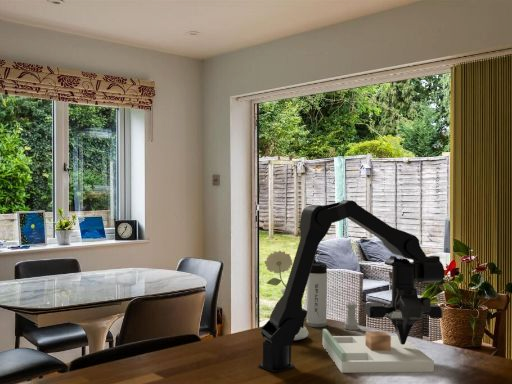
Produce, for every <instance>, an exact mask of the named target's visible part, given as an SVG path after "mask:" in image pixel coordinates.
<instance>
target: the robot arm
mask: <svg viewBox="0 0 512 384" xmlns="http://www.w3.org/2000/svg"><path fill="white" fill-rule="evenodd" d="M344 219H348V220H350V221H351V222H353V223H355V224H356V225H358V226H359V227H360V228H362V229H364V230H365V231H367V232H368V233H370V234H371V235H372V236H375V237H376V238H377V239H379V240H380V242H382V244H383V246H384V247H386V249H387V250H388V251H390V253H392V254H394V255H395V256H394V255H391V256H390V257H389V258H387V259H386V261H384V265H386V266H390V267H392V269H391V270H392V271H391V274H392V275H391V276H392V277H391V279H392V280H391V285H390V290H391V300H390V306H385V305H383V304H382V303H381V302H366V303H365V305H364V314H365V315H366V316H367V317H369V318H371V319H373V318H374V319H383V318H385V317H386V319H387V318H388V319H389V321H391V324H392V325H393V327H394V330H395V332H396V336H398V338H399V341H400V344H402V345H404V344H405V342H406V340H407V341H408V337H409V334H410V332H411V329H412V327H414V325H415V324H416V323H417V322H420V321H421V318H423V315H428V316H429V317H430V319H443V317H444V315H443V314H444V312H443V309H442V307H441V306H440V305H438V304H436V303H434V302H431V299H430V297H429V296H425V297H424V296H422V297H419V295H418V291H417V290H418V289H417V288H416V281H417V282H418V283H440V282H442V281H443V280H444V278H445V275H446V270H445V267H444V265H443V263H442V262H441V260H440V259H441V256H439V255H429V256H427V255H426V253H425V252H424V250H423V249H422V247H421V245H420V240H419V238H418V237H417V236H416V235H414V234H411V233H409V232H407V231H404V230H400V229H398V228H396V227H393V226H391V225H390V224H388V223H386V222H385V221H383V220H382V219H380V218H378V217H377V216H376V215H374V214H373V213H371V212H370V211H368V210H367V209H365V208H363V207H362V206H361V205H359V204H358V203H357V202H356V201H354V200H349V199H348V200H347V199H346V200H345V199H342V200H341V201H337V202H334V203H329V204H324V205H318V204H317V205H315V204H311V205H307V206H306V207H304V208H303V209H302V211H301V214H300V220H299V232H300V233H299V237H300V238H299V239H300V240H299V243H298V245H297V250H296V251H295V252H296V253H295V255H294V259H293V261H292V265H291V267H290V268H291V270H290V271H289V272H290V273H289V276H288V279H287V282H286V284H287V285H286V284H285V285H286V288H285V287H284V289H285V292H284V294H283V293H282V296H281V297H280V298H279V300H278V301H277V303H276V304H275V306H274V307H273V309H272V312H271V314H270V316H269V320H268V321H266V322H265V324H263V326H262V327H261V328H260V329H259V330H260V335H261V337H262V338H263V339H265V340H264V341H263V342H262V362H261V363H258V364H257V367H258V368H261V369H264V370H268V371H270V372H273V373H278V374H279V373H281V372H284V371H285V372H286V371H287V370H291V369H294V368H296V364H293V363H291V362H292V346H293V343H294V341H295V340H294V338H295V335H297V334H298V333H299V331H300V329H301V327H302V328H304V326H305V325H304V324H305V319H307V309H304V308H303V298H304V295H305V291H306V289H307V282H308V278H309V275H310V272H311V268H312V265H313V262H315V258H316V255H317V252H318V251H317V250H318V247H319V245H320V243H321V242H322V241H323V239H324V238H325V237H326V235H327V234H328V231H329V230H330V228H331V226H332V225H333V223H337V222H340V221H342V220H344ZM397 256H400V257H402V258H398V257H397ZM410 260H412V261H413V262H412V261H410Z"/></svg>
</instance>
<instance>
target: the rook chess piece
mask: <svg viewBox="0 0 512 384" xmlns="http://www.w3.org/2000/svg"><path fill="white" fill-rule="evenodd" d="M345 306H346V308H347V309H346V312H347V313H346V319H345V321H344V326H343V327H344V329H345V330H347V329H349V330H348V331H357V330H358V329H359V323H358V321H357V318H356V317H357V315H356V311H357V310H356V308H357V304H356V302H355V301H348V302H347V303H346V305H345Z"/></svg>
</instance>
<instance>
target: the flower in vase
mask: <svg viewBox="0 0 512 384" xmlns="http://www.w3.org/2000/svg"><path fill="white" fill-rule="evenodd" d="M264 264H265V267H266V270H267V271H269V272H270V273H271V272H272V273H274V274H279V278H280V279H279V278H278V277H273V278H271V279H269V280H268V281H267V282H266V284H267V285H272V286H278V285H280V284H281V283H282V285H283V286H284V288H283V289H280V292H281V293H282V295H283V294H284V292H285V288H286V285H287V283H286V284H285V282H284V281H283V279H282V273H285V272H286V271H289V270H290V268H292V265H293V259H292V257H291V254H289V253H286V251H281V250H278V251H273V252H272V253H270V254H268V256H267V257H266V260H264ZM308 336H309V331H308V329H307V327H306V326H305V325H304V328H302V327H301V329H300V331H299V333H298V334H297V335H295V338H294V341H299V340H303V339H305V338H307V337H308Z"/></svg>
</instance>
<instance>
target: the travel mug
mask: <svg viewBox="0 0 512 384" xmlns="http://www.w3.org/2000/svg"><path fill="white" fill-rule="evenodd" d="M327 269H328V265H327V264H326V263H324V262H320V261H314V262H313V265H312V268H311V272H310V275H309V278H308V282H307V285H306V311H307V316H306V321H305V322H306V325H307V327H311V328H324V327H326V326H327V301H328V300H327V298H328V297H327V294H328V293H327V292H328V288H327V287H328V272H327V271H328V270H327Z"/></svg>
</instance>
